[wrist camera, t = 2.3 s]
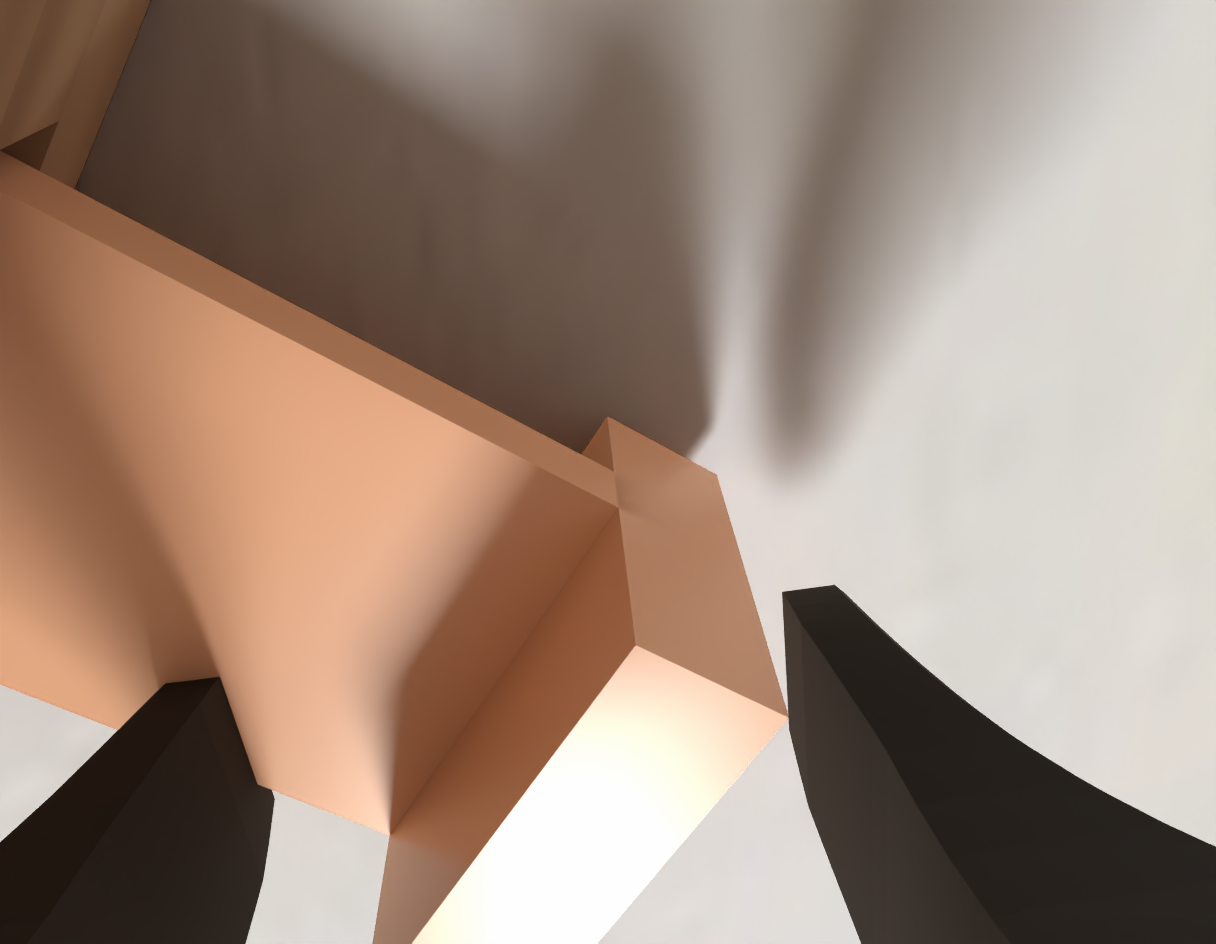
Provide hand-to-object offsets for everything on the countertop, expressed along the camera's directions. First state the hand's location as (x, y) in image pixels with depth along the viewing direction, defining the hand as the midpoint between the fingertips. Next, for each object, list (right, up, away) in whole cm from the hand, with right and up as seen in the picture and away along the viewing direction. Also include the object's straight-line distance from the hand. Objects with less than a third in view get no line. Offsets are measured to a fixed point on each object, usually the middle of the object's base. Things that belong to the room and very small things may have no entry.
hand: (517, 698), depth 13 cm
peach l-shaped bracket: (-5, +4, 0) cm, 6 cm away
